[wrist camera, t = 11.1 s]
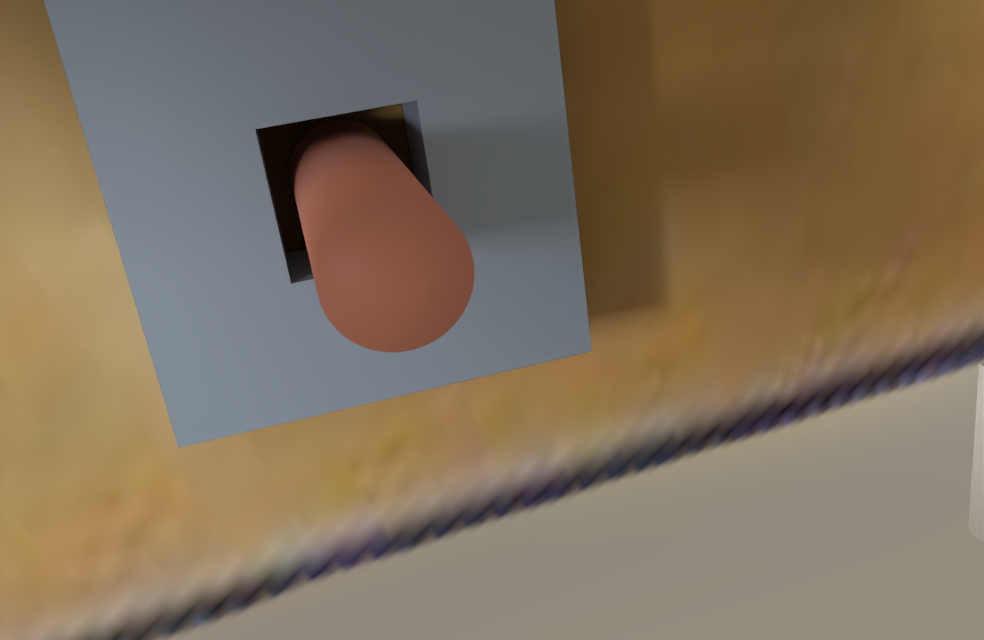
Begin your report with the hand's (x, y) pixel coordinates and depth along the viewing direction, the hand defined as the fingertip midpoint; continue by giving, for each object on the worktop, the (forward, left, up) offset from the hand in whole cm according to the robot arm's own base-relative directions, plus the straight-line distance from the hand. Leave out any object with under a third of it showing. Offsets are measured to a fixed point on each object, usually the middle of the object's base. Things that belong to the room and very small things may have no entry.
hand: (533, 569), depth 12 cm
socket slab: (0, 0, -27) cm, 27 cm away
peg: (0, 0, -27) cm, 27 cm away
